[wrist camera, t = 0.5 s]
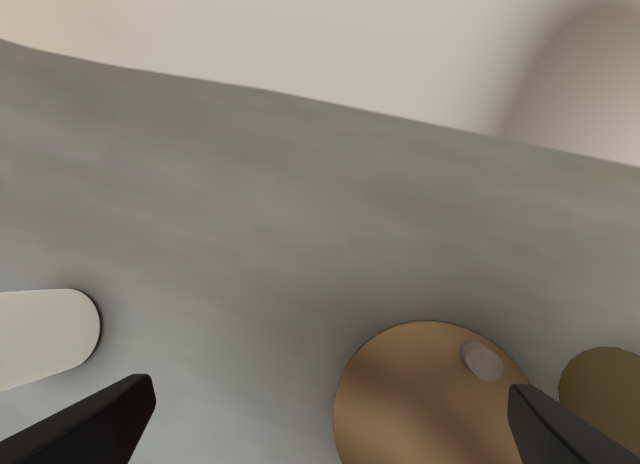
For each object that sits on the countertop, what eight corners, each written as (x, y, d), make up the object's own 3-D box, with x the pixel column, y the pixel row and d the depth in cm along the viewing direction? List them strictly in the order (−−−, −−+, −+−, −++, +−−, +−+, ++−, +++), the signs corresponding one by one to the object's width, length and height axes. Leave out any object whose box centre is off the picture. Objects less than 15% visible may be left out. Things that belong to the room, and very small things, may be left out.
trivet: (480, 572, 21) (504, 642, 17) (302, 450, 24) (287, 486, 20) (576, 386, 21) (621, 413, 17) (388, 285, 24) (391, 289, 20)
